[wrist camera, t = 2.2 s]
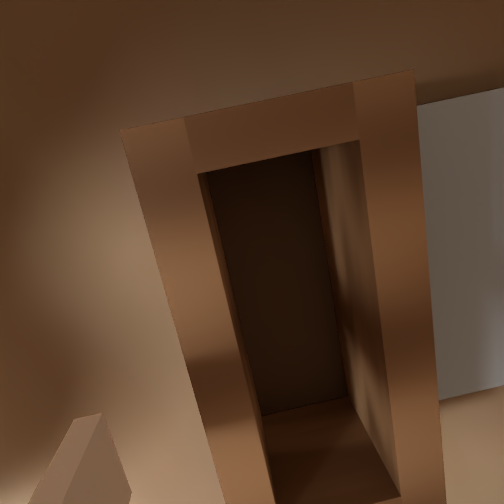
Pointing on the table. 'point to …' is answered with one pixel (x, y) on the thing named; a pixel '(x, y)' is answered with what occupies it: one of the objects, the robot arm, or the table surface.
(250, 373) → the hollow block
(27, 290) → the table surface
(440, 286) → the post board
